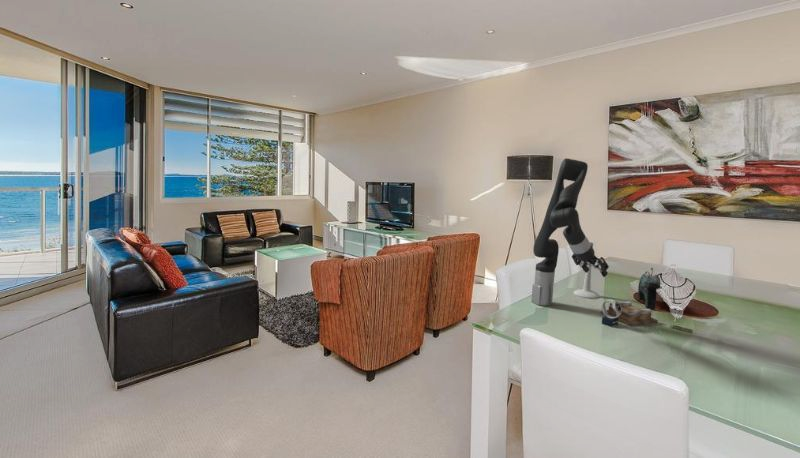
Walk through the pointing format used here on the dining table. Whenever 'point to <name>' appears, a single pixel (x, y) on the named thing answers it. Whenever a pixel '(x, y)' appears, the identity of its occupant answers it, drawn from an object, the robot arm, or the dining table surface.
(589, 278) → the candlestick
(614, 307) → the watch
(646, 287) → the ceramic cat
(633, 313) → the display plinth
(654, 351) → the dining table surface
